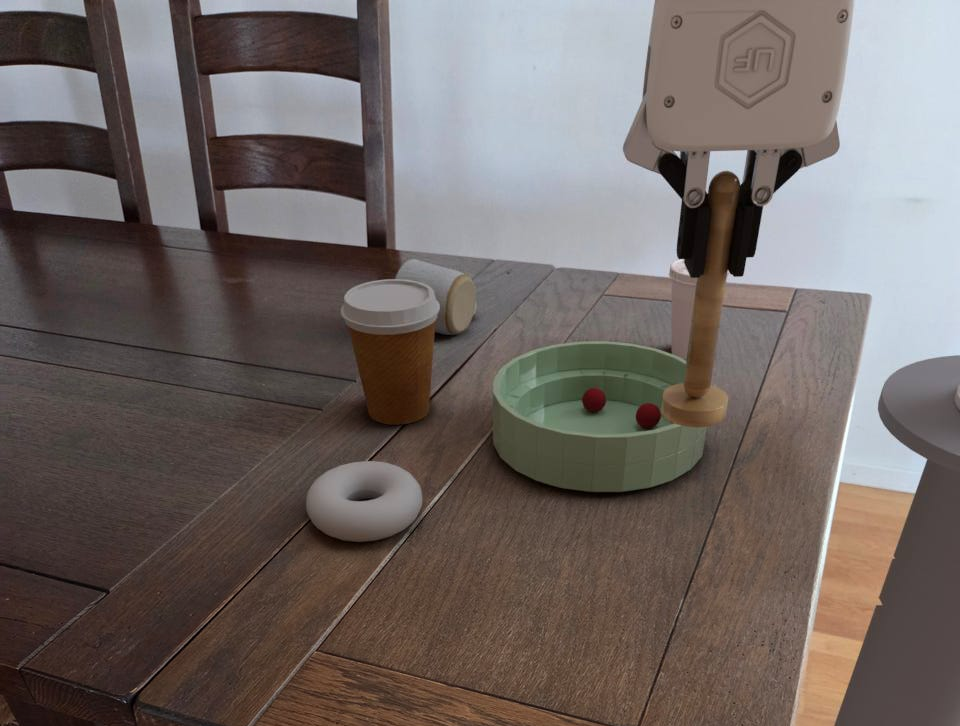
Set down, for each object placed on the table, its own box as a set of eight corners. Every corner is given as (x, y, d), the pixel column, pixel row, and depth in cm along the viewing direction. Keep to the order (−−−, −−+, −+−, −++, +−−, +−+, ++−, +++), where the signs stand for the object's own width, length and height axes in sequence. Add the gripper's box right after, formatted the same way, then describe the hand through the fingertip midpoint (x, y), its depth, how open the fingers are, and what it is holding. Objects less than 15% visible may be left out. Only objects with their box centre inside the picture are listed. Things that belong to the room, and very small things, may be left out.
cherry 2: (657, 421, 88) (660, 398, 87) (660, 432, 86) (663, 410, 85) (633, 421, 88) (635, 399, 87) (636, 433, 86) (638, 410, 85)
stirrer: (719, 397, 63) (756, 160, 53) (731, 427, 60) (773, 180, 50) (656, 398, 63) (682, 162, 53) (665, 428, 60) (694, 182, 50)
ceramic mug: (451, 346, 104) (449, 279, 100) (392, 334, 107) (387, 268, 103) (492, 316, 112) (492, 253, 107) (436, 306, 115) (433, 244, 110)
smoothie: (658, 363, 100) (674, 231, 91) (660, 340, 105) (675, 213, 96) (717, 366, 99) (738, 233, 90) (715, 343, 104) (736, 215, 95)
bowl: (685, 395, 94) (693, 340, 90) (720, 497, 78) (731, 436, 75) (494, 397, 94) (494, 342, 90) (492, 498, 79) (491, 437, 75)
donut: (418, 551, 73) (428, 486, 81) (415, 516, 71) (426, 452, 78) (298, 550, 74) (319, 485, 81) (292, 516, 71) (314, 452, 79)
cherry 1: (604, 405, 91) (605, 383, 89) (606, 416, 89) (607, 394, 88) (580, 405, 91) (582, 383, 90) (582, 416, 89) (583, 394, 88)
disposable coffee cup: (418, 440, 87) (409, 319, 80) (335, 422, 91) (319, 304, 83) (460, 400, 94) (456, 284, 86) (381, 385, 97) (371, 272, 89)
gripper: (610, -112, 40) (589, 295, 53) (962, -126, 40) (859, 288, 52) (596, -115, 46) (581, 253, 58) (905, -128, 46) (824, 246, 58)
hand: (713, 267), depth 55 cm, fingers closed on stirrer
